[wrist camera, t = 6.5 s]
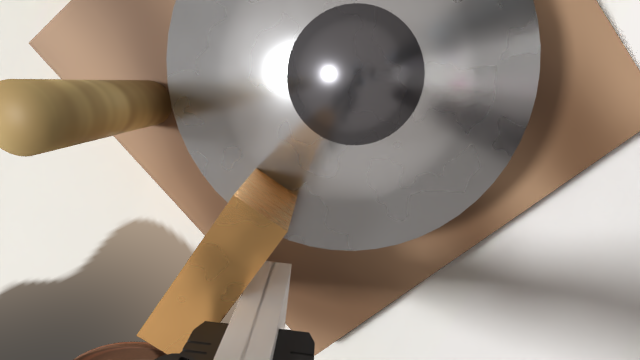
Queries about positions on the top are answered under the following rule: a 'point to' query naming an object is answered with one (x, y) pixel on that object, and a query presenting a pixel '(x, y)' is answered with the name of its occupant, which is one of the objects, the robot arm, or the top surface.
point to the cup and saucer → (123, 352)
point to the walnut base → (307, 262)
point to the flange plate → (356, 175)
